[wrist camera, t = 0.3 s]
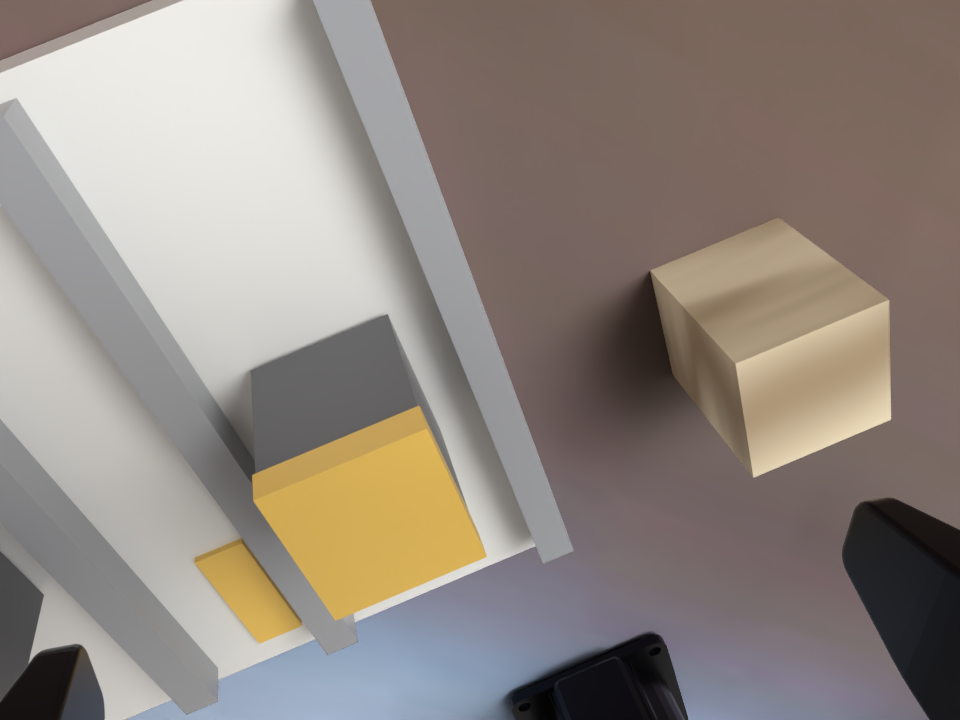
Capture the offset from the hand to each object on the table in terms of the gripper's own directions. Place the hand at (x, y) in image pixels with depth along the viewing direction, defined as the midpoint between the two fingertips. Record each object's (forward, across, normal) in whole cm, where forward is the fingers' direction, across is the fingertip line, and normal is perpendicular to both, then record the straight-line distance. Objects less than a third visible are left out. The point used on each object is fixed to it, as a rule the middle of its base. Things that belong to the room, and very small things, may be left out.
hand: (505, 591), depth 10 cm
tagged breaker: (+12, +1, +5) cm, 13 cm away
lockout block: (+14, -10, +4) cm, 18 cm away
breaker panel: (+13, +7, +6) cm, 16 cm away
